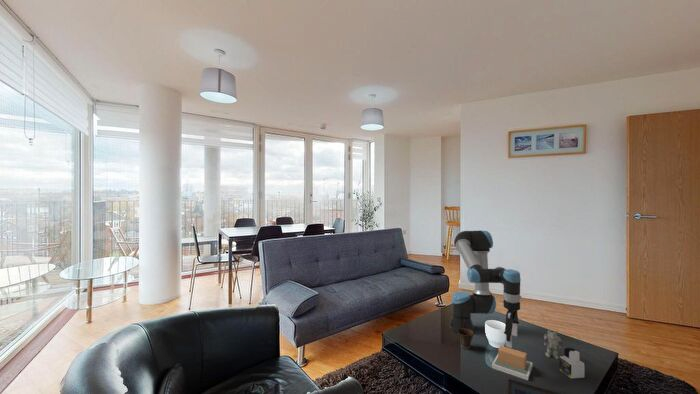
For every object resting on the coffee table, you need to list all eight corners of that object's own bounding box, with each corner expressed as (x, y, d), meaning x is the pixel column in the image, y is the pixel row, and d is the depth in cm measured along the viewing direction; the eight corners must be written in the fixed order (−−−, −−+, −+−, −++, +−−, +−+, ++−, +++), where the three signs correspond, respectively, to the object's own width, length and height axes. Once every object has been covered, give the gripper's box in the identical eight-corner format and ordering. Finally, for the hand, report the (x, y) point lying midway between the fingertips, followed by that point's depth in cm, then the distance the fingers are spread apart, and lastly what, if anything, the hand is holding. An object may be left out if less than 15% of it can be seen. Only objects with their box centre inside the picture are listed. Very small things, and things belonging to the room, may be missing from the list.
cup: (475, 343, 173) (474, 327, 172) (474, 352, 165) (473, 336, 163) (459, 340, 177) (458, 325, 175) (458, 350, 168) (457, 334, 167)
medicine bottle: (559, 369, 147) (559, 346, 147) (572, 368, 148) (572, 345, 147) (571, 378, 140) (571, 354, 140) (584, 377, 140) (584, 353, 140)
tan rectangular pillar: (498, 361, 152) (498, 349, 152) (500, 356, 156) (500, 345, 156) (524, 370, 144) (524, 358, 144) (526, 364, 148) (526, 353, 148)
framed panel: (492, 368, 150) (491, 363, 149) (498, 355, 160) (498, 351, 160) (528, 380, 139) (528, 375, 139) (532, 366, 150) (532, 362, 150)
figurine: (564, 358, 156) (564, 331, 156) (556, 362, 153) (555, 334, 153) (548, 351, 164) (548, 325, 163) (540, 355, 160) (540, 328, 160)
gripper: (515, 310, 137) (515, 354, 138) (524, 294, 156) (524, 333, 157) (497, 306, 142) (497, 349, 143) (508, 291, 161) (508, 329, 162)
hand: (511, 340), depth 150 cm, fingers open, 13 cm apart
